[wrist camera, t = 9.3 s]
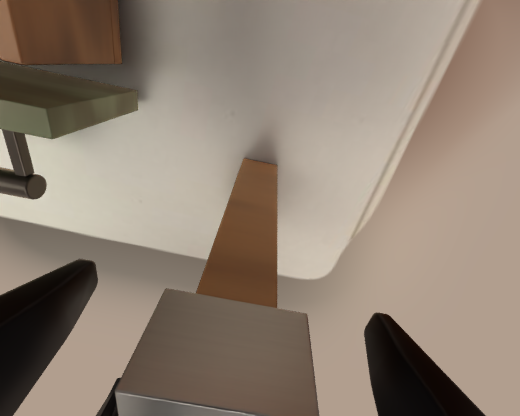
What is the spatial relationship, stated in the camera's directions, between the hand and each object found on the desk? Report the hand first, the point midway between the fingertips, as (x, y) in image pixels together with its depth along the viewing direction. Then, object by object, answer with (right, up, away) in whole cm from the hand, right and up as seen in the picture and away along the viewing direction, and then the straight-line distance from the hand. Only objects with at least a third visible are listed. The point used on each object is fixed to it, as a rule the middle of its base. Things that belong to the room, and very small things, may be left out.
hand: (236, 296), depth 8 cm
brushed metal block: (0, -2, 0) cm, 2 cm away
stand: (0, +4, +12) cm, 12 cm away
